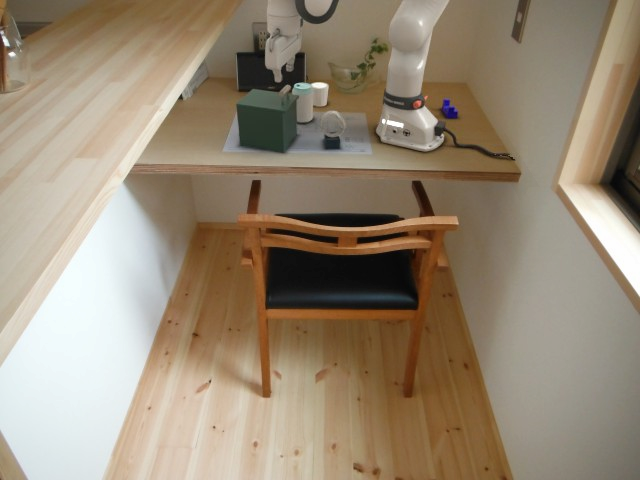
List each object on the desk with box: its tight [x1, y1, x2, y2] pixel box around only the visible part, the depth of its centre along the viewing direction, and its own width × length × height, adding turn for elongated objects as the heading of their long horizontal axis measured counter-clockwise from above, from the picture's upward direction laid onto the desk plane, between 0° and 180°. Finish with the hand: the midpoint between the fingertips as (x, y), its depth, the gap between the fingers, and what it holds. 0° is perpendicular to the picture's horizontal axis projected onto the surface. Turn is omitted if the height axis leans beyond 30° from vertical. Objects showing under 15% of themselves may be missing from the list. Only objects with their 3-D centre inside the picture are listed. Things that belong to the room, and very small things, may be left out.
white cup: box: [309, 81, 330, 108], centre depth 170 cm, size 7×7×7 cm
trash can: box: [235, 100, 298, 153], centre depth 144 cm, size 15×13×13 cm
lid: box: [235, 84, 299, 113], centre depth 138 cm, size 15×13×5 cm
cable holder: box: [441, 98, 459, 119], centre depth 166 cm, size 8×4×4 cm, turn 2°
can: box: [291, 82, 314, 124], centre depth 157 cm, size 7×7×12 cm
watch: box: [319, 110, 347, 150], centre depth 143 cm, size 6×8×11 cm
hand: (284, 75), depth 133 cm, fingers open, 8 cm apart
